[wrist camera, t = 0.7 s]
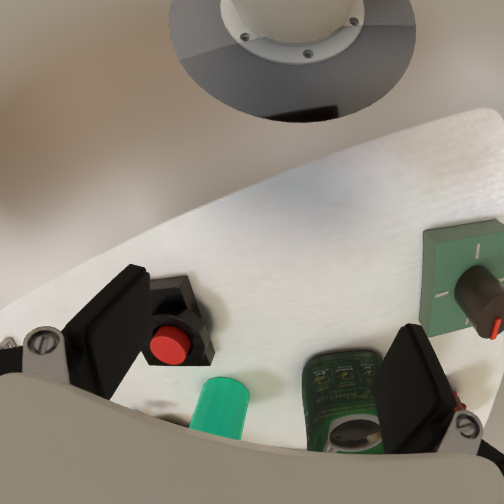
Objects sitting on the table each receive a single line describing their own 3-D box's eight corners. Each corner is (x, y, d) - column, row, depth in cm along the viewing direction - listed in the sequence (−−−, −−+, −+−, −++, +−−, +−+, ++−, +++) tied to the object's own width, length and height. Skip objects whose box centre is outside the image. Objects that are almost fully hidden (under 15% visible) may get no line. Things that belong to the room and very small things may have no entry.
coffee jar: (303, 396, 33) (294, 535, 17) (300, 351, 30) (289, 519, 14) (379, 389, 32) (400, 524, 15) (387, 342, 29) (426, 500, 12)
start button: (151, 325, 27) (144, 336, 26) (183, 324, 26) (177, 335, 25) (164, 353, 29) (158, 364, 27) (195, 353, 28) (190, 365, 26)
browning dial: (456, 269, 21) (484, 301, 16) (493, 261, 20) (523, 290, 15) (451, 310, 23) (473, 346, 18) (486, 301, 22) (511, 333, 17)
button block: (123, 283, 30) (104, 302, 27) (198, 273, 28) (185, 295, 25) (155, 353, 34) (143, 375, 30) (225, 352, 32) (217, 377, 28)
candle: (241, 375, 33) (220, 461, 22) (255, 404, 35) (240, 483, 24) (196, 377, 34) (166, 456, 24) (213, 406, 37) (190, 479, 26)
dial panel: (423, 230, 23) (436, 243, 21) (496, 219, 21) (513, 230, 19) (418, 320, 27) (427, 339, 24) (485, 304, 25) (497, 319, 22)
